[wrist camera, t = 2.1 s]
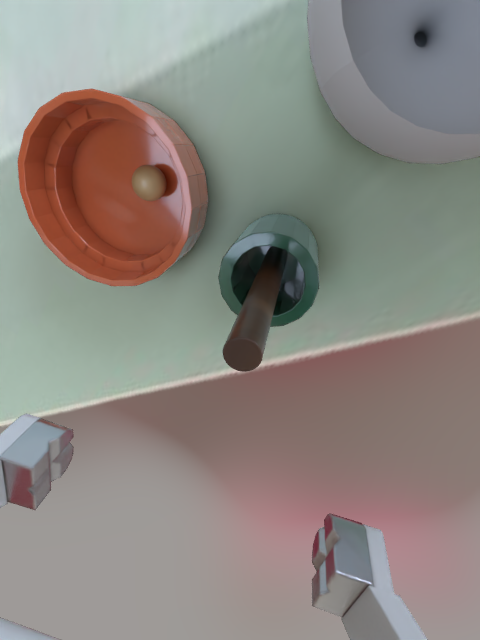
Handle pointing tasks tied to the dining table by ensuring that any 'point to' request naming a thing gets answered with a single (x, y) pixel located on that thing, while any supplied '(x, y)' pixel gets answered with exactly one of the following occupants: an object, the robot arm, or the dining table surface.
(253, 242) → the utensil pot
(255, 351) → the stick
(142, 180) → the bead
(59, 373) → the dining table surface
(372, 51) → the chalice
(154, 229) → the bowl
